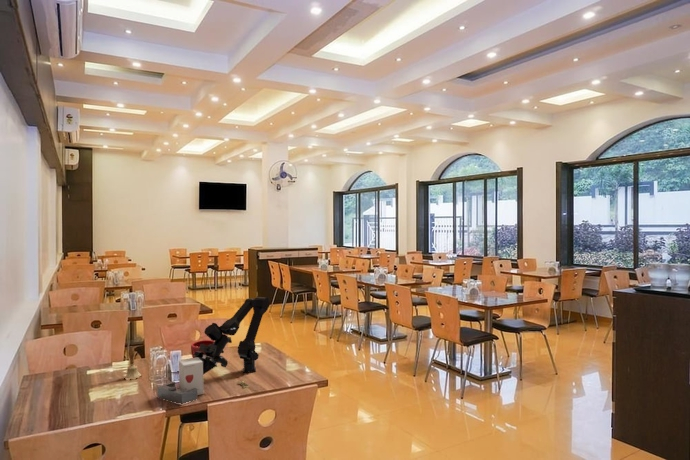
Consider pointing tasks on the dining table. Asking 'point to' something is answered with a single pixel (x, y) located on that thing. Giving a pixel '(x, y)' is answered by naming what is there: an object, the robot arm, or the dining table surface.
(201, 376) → the supplement box
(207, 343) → the plant pot
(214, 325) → the robot arm
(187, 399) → the coupler mouth
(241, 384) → the brass key
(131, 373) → the hand bell
